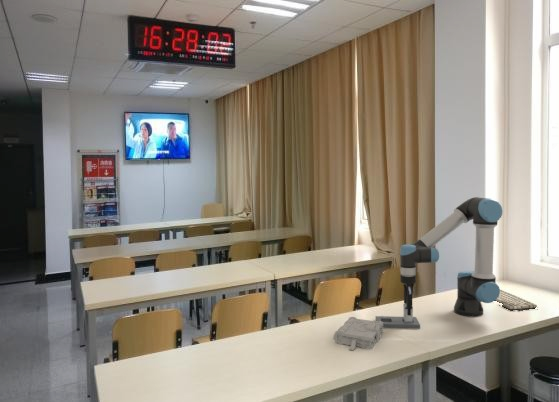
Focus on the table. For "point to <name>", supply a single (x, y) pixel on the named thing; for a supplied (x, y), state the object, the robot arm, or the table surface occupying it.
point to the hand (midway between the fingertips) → (408, 319)
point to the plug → (405, 313)
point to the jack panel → (398, 322)
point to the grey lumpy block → (359, 333)
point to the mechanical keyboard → (514, 302)
